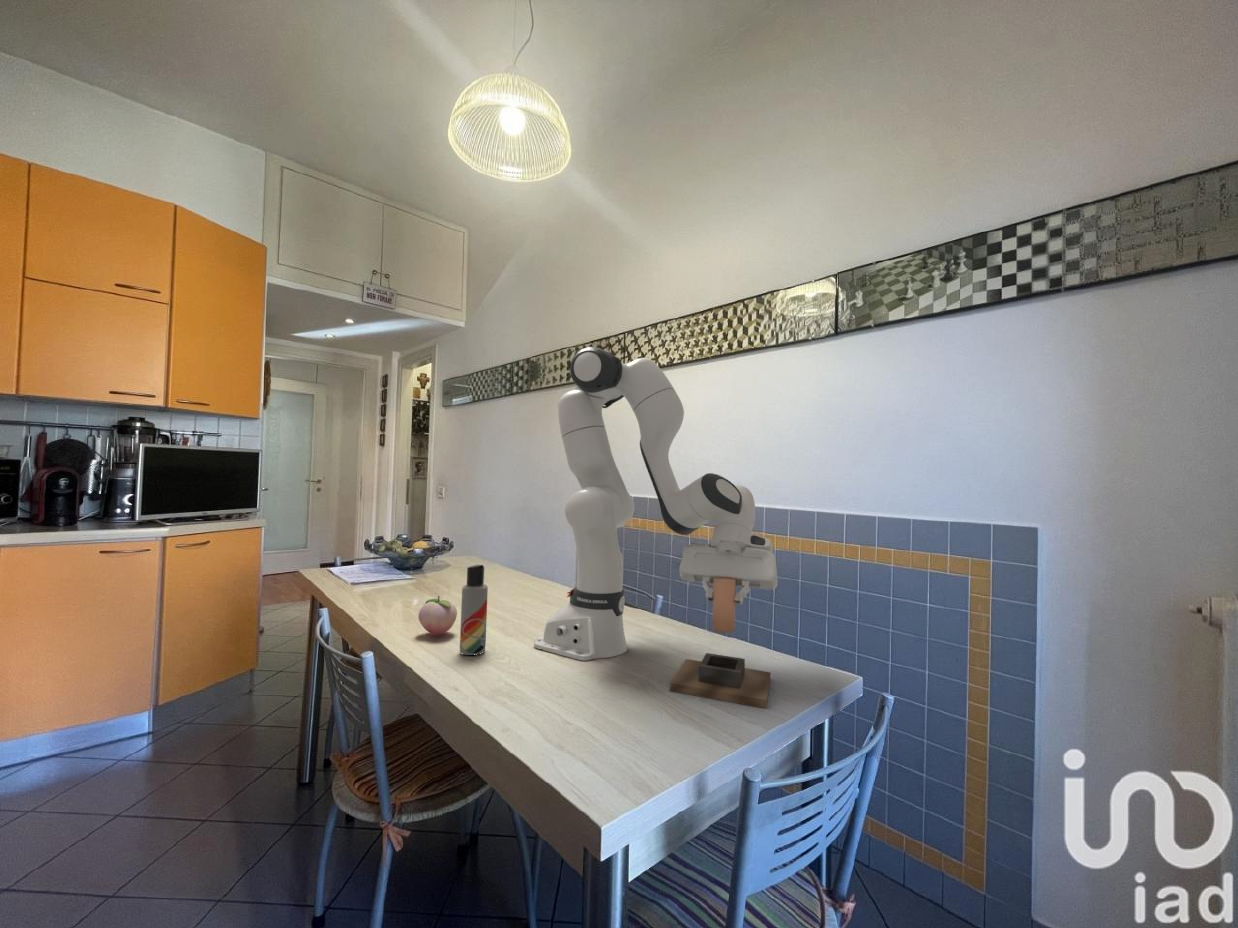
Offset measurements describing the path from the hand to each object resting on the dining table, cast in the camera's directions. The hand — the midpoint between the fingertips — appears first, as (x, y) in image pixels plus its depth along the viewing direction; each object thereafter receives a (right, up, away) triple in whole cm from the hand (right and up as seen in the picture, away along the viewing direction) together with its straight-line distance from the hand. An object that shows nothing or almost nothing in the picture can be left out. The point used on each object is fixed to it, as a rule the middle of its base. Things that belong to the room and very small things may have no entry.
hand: (723, 600), depth 98 cm
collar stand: (0, -17, 0) cm, 17 cm away
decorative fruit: (-67, -16, +25) cm, 73 cm away
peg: (0, -6, 0) cm, 6 cm away
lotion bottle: (-55, -16, +14) cm, 59 cm away
